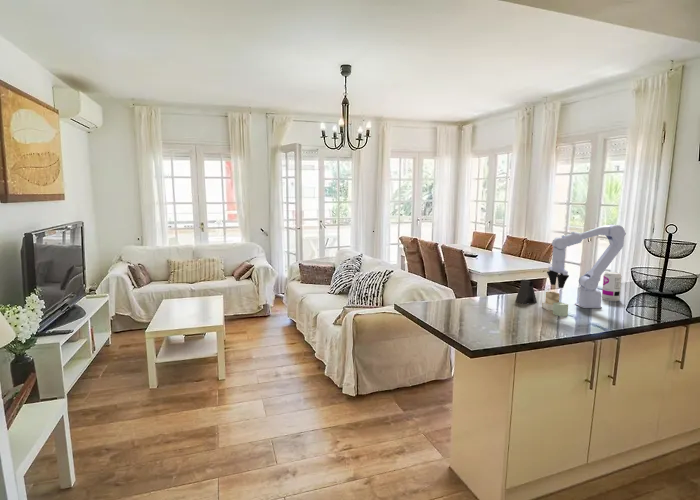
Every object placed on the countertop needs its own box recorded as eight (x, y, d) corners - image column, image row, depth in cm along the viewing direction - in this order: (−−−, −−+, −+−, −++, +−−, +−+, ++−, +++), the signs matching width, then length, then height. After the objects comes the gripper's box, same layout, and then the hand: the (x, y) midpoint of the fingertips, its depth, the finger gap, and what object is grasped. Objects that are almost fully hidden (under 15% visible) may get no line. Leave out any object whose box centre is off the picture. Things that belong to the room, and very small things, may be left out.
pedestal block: (555, 307, 202) (555, 301, 202) (562, 311, 195) (562, 305, 195) (541, 307, 202) (542, 301, 202) (547, 311, 195) (548, 305, 195)
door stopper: (528, 300, 216) (529, 278, 214) (536, 302, 210) (538, 280, 209) (515, 301, 213) (516, 279, 211) (523, 304, 207) (524, 282, 206)
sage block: (560, 313, 191) (560, 302, 190) (567, 315, 186) (568, 304, 186) (552, 313, 189) (553, 302, 189) (560, 316, 185) (560, 305, 184)
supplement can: (604, 300, 213) (606, 273, 211) (599, 297, 221) (601, 271, 219) (621, 302, 211) (624, 274, 209) (616, 298, 219) (618, 272, 217)
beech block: (553, 302, 201) (554, 291, 200) (558, 304, 197) (559, 293, 196) (545, 302, 201) (545, 291, 200) (550, 304, 196) (550, 293, 196)
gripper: (543, 258, 210) (542, 283, 212) (558, 262, 196) (557, 289, 197) (556, 258, 210) (554, 283, 212) (572, 262, 196) (570, 289, 198)
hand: (556, 286), depth 205 cm, fingers open, 7 cm apart
